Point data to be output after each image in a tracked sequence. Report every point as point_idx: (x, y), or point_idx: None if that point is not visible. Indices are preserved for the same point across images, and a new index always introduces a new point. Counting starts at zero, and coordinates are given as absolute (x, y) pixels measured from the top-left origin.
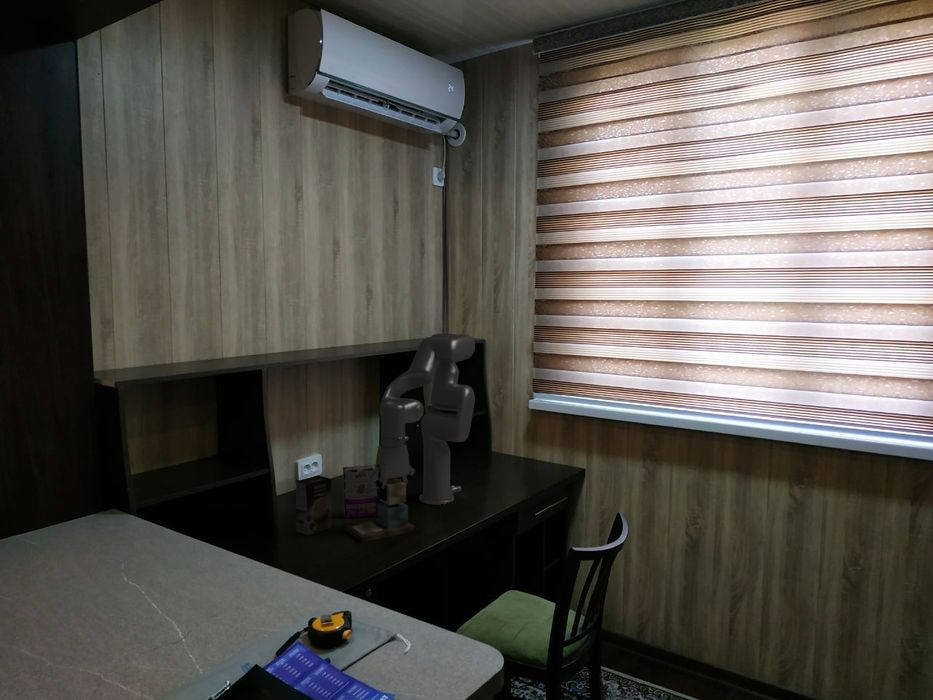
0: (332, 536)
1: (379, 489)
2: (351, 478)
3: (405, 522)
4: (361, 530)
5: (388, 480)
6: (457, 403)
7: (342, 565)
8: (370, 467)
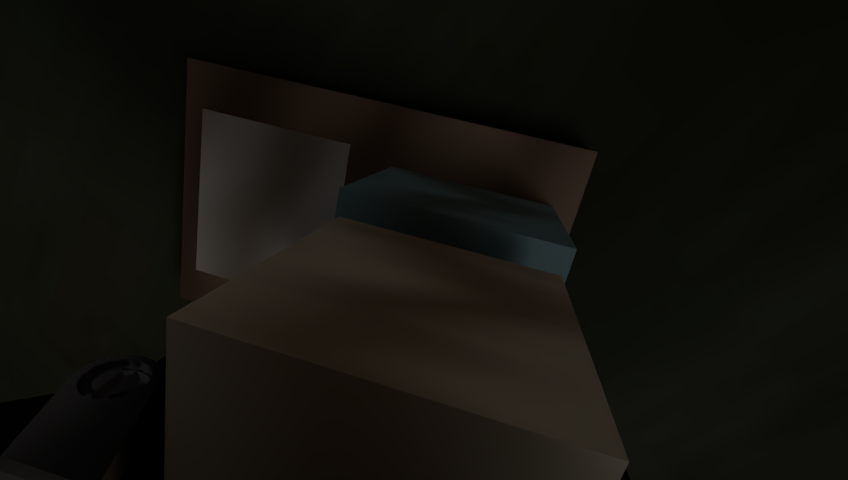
0: (113, 90)
1: (165, 365)
2: None
3: None
4: (219, 218)
5: (367, 399)
6: None
7: (40, 391)
8: None
